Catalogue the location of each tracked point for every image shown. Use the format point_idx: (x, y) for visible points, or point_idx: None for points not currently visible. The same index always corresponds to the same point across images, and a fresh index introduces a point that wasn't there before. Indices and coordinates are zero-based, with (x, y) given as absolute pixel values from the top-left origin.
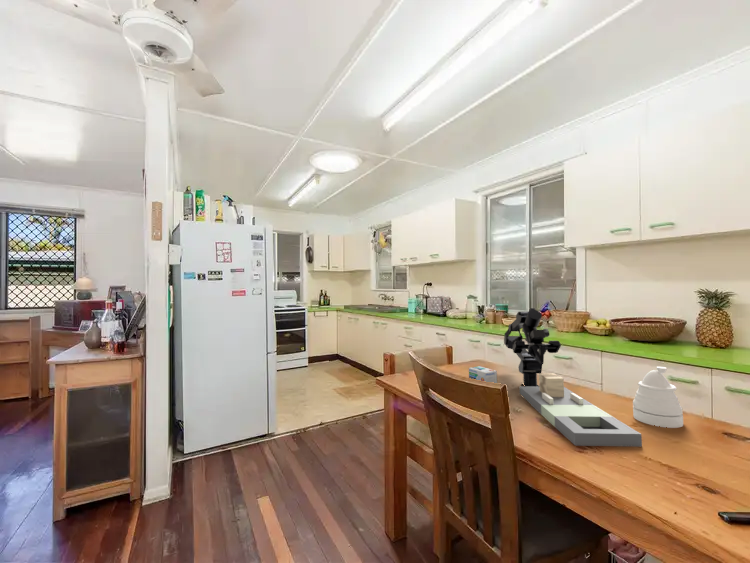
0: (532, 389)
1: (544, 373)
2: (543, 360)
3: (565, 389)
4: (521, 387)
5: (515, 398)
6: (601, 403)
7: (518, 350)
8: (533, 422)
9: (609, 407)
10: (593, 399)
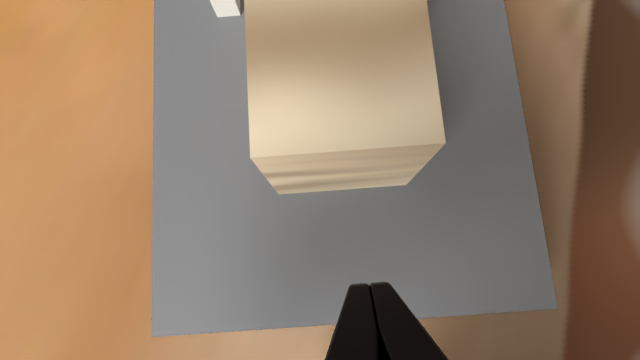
0: (458, 214)
1: (376, 143)
2: (341, 314)
3: (177, 237)
4: (544, 273)
5: (568, 203)
6: (22, 146)
7: None
8: None
9: (20, 75)
10: (23, 228)
